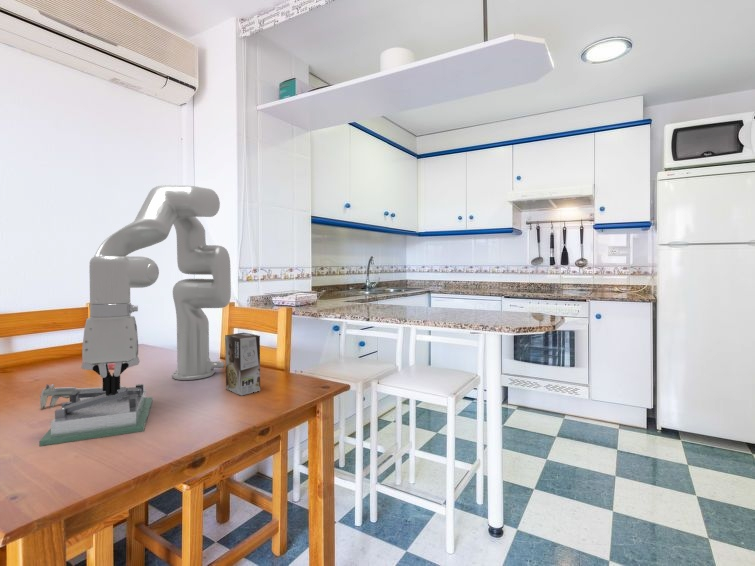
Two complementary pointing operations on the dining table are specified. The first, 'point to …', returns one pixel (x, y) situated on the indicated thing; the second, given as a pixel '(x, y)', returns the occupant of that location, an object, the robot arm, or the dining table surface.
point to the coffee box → (242, 363)
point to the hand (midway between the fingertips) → (111, 393)
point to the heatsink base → (99, 418)
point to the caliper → (60, 393)
